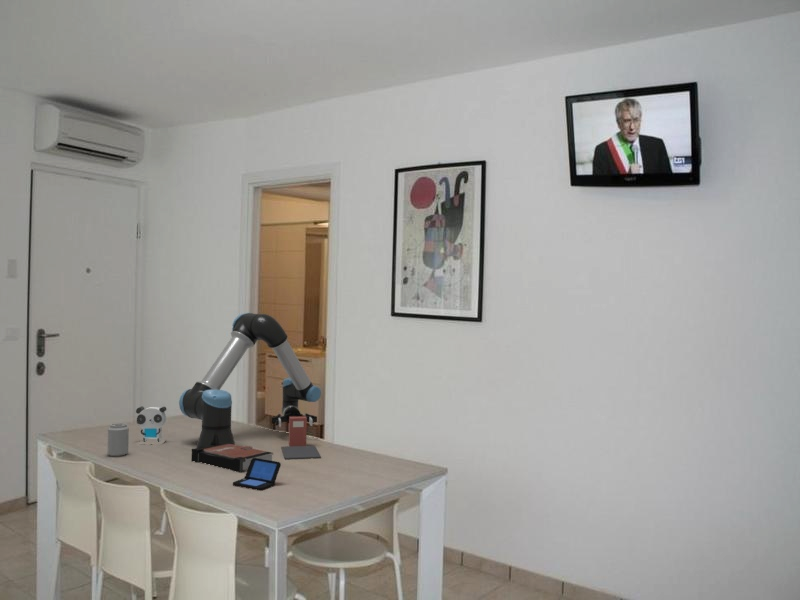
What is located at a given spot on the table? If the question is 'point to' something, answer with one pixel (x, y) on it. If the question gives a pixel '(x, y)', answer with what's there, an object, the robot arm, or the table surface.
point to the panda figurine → (151, 422)
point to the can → (118, 439)
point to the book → (229, 456)
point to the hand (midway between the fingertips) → (296, 423)
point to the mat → (300, 452)
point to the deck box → (297, 431)
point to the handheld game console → (260, 474)
